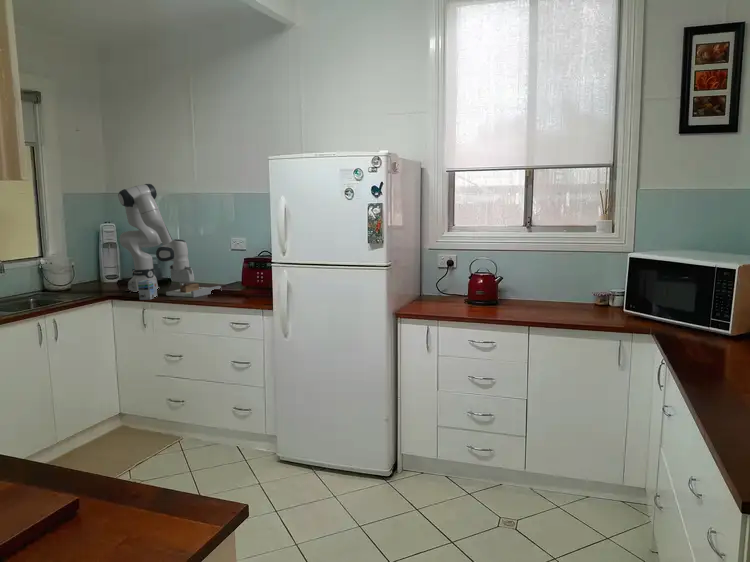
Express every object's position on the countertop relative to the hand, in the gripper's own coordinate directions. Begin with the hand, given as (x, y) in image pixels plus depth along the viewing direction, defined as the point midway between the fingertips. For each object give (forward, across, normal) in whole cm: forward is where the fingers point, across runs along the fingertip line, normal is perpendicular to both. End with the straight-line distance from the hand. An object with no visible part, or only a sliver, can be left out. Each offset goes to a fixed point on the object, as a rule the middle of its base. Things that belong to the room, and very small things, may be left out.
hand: (183, 288), depth 348 cm
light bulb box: (+4, +7, +19) cm, 21 cm away
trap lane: (+3, -3, -5) cm, 7 cm away
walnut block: (+1, -4, -1) cm, 5 cm away
